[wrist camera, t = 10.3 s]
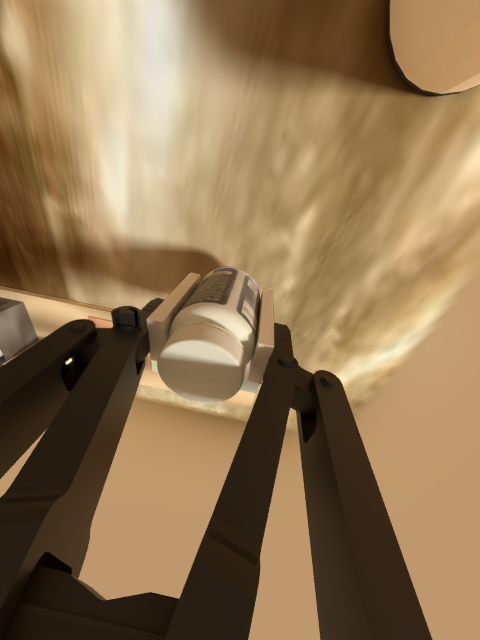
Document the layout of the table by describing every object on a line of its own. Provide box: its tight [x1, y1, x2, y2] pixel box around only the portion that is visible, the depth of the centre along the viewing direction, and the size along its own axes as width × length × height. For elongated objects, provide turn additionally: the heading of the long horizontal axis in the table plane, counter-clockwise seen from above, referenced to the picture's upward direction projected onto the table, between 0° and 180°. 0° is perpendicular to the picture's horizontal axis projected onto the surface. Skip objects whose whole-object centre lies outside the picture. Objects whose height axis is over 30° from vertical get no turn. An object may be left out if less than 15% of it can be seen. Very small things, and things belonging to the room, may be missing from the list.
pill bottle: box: [157, 267, 260, 403], centre depth 13 cm, size 5×5×8 cm
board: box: [0, 286, 259, 408], centre depth 23 cm, size 10×34×4 cm, turn 80°
